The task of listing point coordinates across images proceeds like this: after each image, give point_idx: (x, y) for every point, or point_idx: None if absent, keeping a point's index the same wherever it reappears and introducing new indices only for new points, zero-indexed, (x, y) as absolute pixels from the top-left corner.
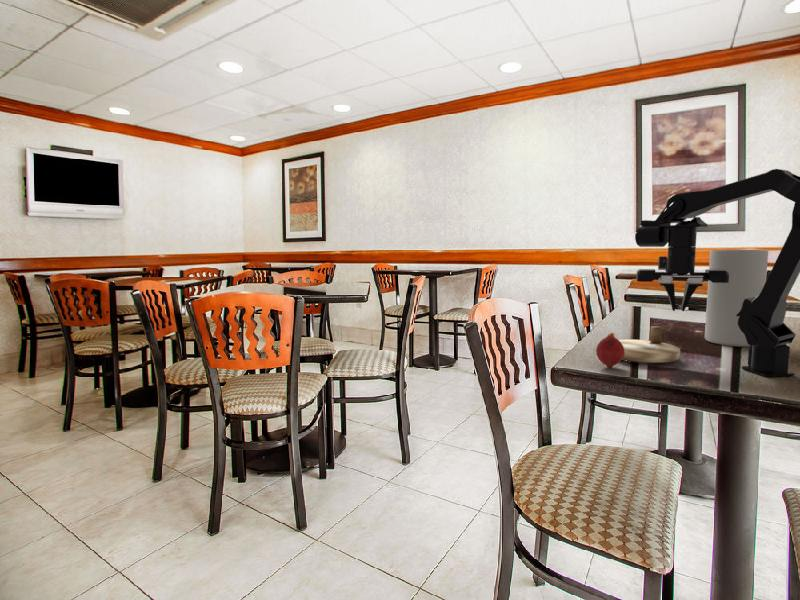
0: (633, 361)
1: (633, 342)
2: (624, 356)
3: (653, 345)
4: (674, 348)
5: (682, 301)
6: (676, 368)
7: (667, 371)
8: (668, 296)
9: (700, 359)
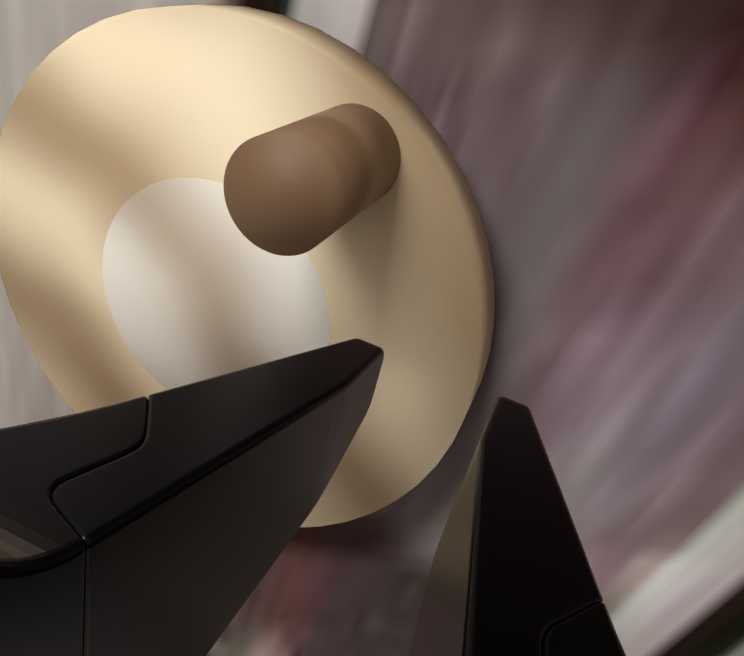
0: None
1: (173, 150)
2: None
3: (302, 278)
4: (433, 385)
5: (471, 491)
6: (387, 524)
7: (320, 561)
8: (132, 404)
9: (679, 348)
